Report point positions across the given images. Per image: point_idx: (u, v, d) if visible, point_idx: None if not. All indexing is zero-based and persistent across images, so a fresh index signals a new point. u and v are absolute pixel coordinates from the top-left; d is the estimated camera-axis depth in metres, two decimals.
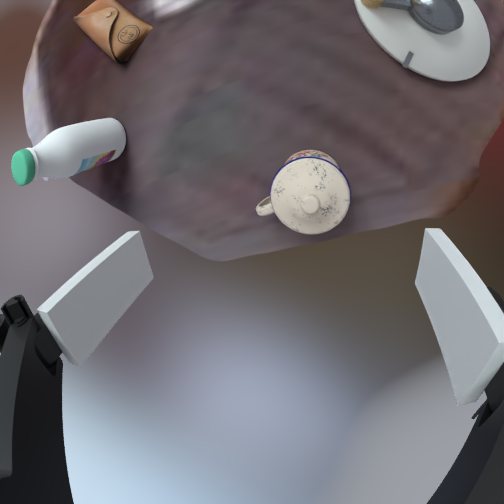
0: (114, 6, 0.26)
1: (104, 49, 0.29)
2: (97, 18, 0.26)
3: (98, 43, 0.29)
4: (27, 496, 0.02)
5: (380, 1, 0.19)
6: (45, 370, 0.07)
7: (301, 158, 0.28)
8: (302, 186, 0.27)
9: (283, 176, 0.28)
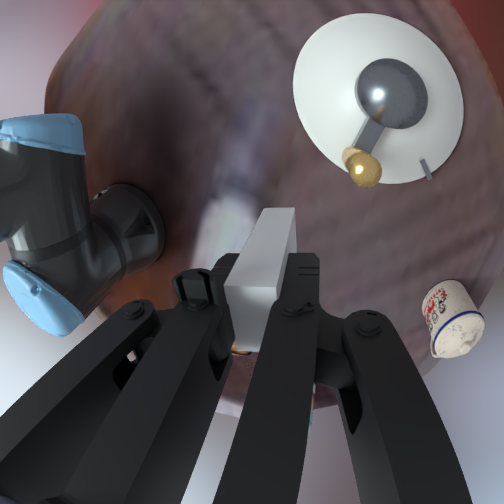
0: None
1: None
2: None
3: None
4: None
5: None
6: (211, 376, 0.07)
7: (440, 330, 0.30)
8: (454, 344, 0.28)
9: (439, 346, 0.30)
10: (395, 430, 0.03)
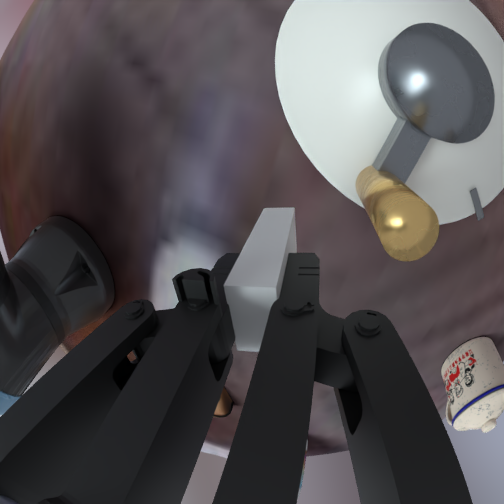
0: None
1: None
2: None
3: None
4: None
5: None
6: (211, 376, 0.07)
7: (464, 409, 0.18)
8: (477, 423, 0.17)
9: (459, 424, 0.19)
10: (395, 430, 0.03)
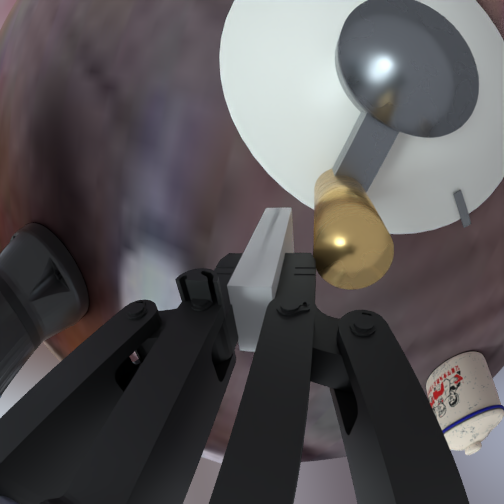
0: None
1: None
2: None
3: None
4: None
5: None
6: (214, 376, 0.07)
7: (446, 431, 0.17)
8: (460, 446, 0.16)
9: None
10: (390, 430, 0.03)
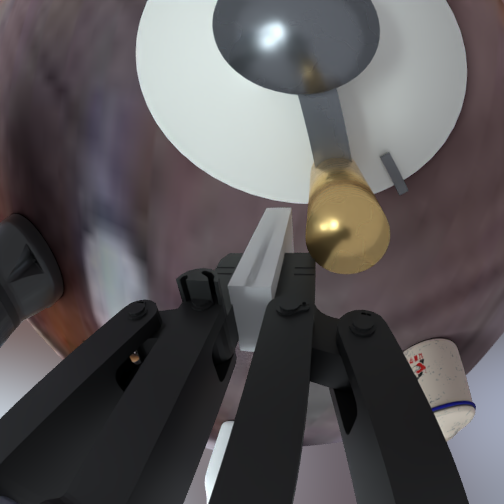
0: None
1: None
2: None
3: None
4: None
5: None
6: (214, 377, 0.07)
7: None
8: None
9: None
10: (390, 430, 0.03)
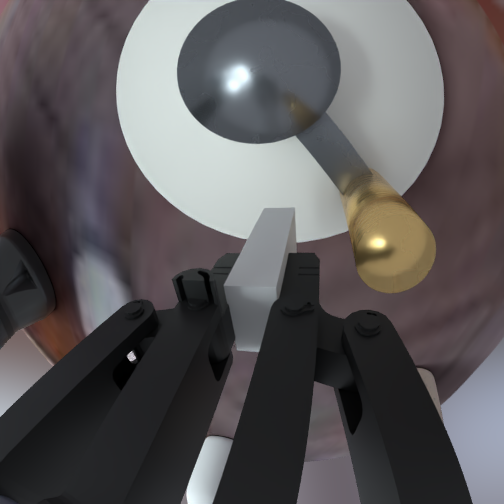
0: None
1: None
2: None
3: None
4: None
5: (388, 183, 0.12)
6: (211, 376, 0.07)
7: None
8: None
9: None
10: (395, 430, 0.03)
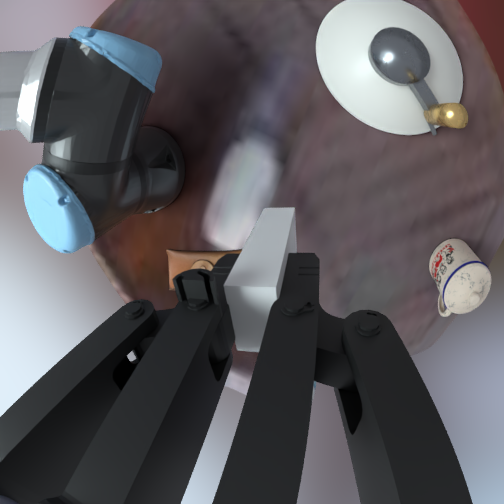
0: (196, 258, 0.48)
1: None
2: None
3: None
4: None
5: None
6: (211, 376, 0.07)
7: (449, 279, 0.31)
8: (463, 294, 0.29)
9: (448, 297, 0.31)
10: (395, 430, 0.03)
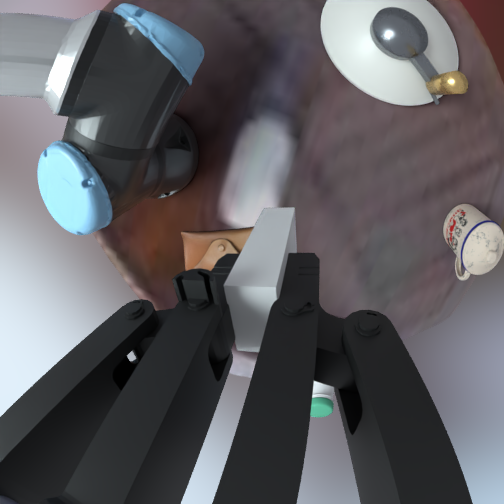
0: (214, 238, 0.47)
1: None
2: (215, 258, 0.47)
3: None
4: None
5: None
6: (211, 376, 0.07)
7: (466, 239, 0.30)
8: (480, 253, 0.29)
9: (467, 257, 0.31)
10: (395, 430, 0.03)
